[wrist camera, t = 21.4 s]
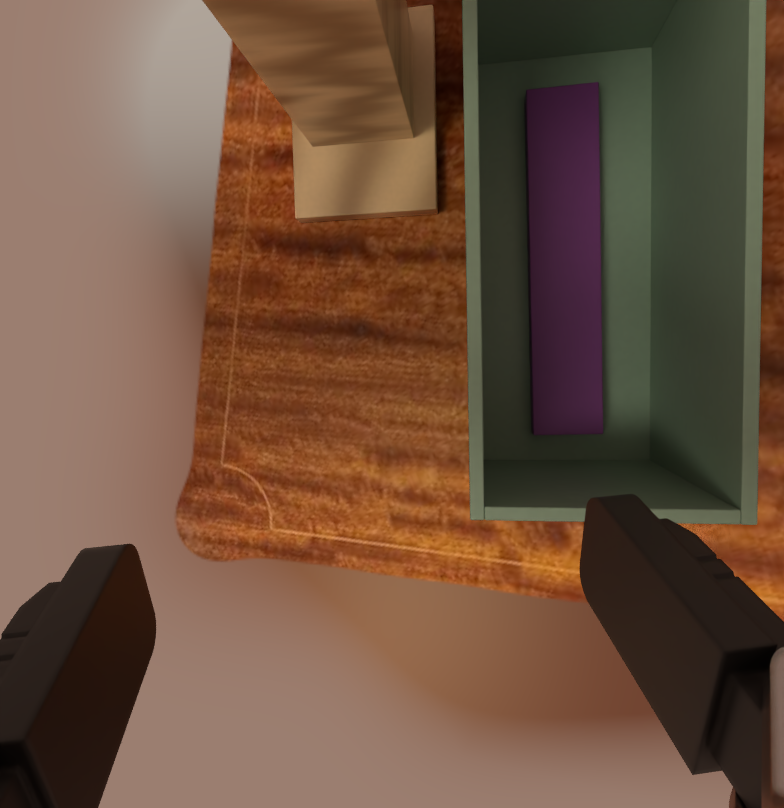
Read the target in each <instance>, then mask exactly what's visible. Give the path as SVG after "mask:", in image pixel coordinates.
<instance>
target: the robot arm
mask: <svg viewBox="0 0 784 808" xmlns="http://www.w3.org/2000/svg"><path fill="white" fill-rule="evenodd" d="M580 578H581V584H582V588H583V591H584V594H585V596H586V599H587V601H588V603H589V604H590V606H591V608H592V609H593V611H594V613H595V614H596V616H597V617H598V619H599V621H600V623H601V624H602V626H603V627H604V629H605V631H606V632H607V634H608V636H609V637H610V639H611V640H612V642H613V644H614V645H615V647H616V649H617V651H618V652H619V654H620V655H621V657H622V659H623V660H624V662H625V664H626V666H627V667H628V669H629V670H630V672H631V674H632V675H633V677H634V679H635V680H636V682H637V684H638V685H639V687H640V689H641V690H642V692H643V694H644V695H645V697H646V699H647V700H648V702H649V703H650V705H651V707H652V709H653V710H654V712H655V713H656V715H657V717H658V718H659V720H660V722H661V723H662V725H663V727H664V728H665V730H666V732H667V733H668V735H669V737H670V738H671V740H672V742H673V743H674V745H675V747H676V748H677V750H678V752H679V753H680V755H681V756H682V758H683V760H684V762H685V763H686V765H687V766H688V768H689V770H690V771H691V773H692V775H694V774H701V773H708V772H715V771H723V772H724V774H725V775H726V777H727V778H728V780H729V781H730V783H731V784H732V786H733V789H732V792H731V796H730V801H729V808H784V622H783V621H782V620H781V619H780V618H779V617H778V616H777V615H776V614H775V613H774V612H773V611H772V610H771V609H770V608H769V607H768V606H767V605H766V604H765V603H764V602H763V601H762V600H761V599H760V598H759V597H758V596H757V595H756V594H755V593H754V592H753V591H752V590H751V589H750V588H749V587H748V586H747V585H746V584H745V583H744V582H743V581H742V580H741V579H740V578H739V577H735V576H734V572H733V571H732V570H731V569H730V568H729V567H728V566H727V565H726V564H725V563H724V562H723V561H722V560H721V559H717V558H716V554H715V553H714V552H713V551H712V550H711V549H710V548H709V547H708V546H707V545H706V544H705V543H704V542H703V541H702V540H701V539H700V538H699V537H698V536H697V535H696V534H694V533H692V532H691V531H689V530H687V529H685V528H684V527H682V526H680V525H678V524H677V523H675V522H673V521H671V520H669V519H668V518H664V519H659V518H658V517H657V516H656V515H655V514H654V513H653V512H652V511H651V510H650V509H649V508H648V507H647V506H646V505H645V504H644V503H643V501H642V500H641V499H640V498H639V497H638V496H636V495H635V494H623V495H613V496H603V497H594V498H591V499H590V500H589V501H588V503H587V506H586V512H585V521H584V531H583V540H582V549H581V558H580ZM155 638H156V618H155V612H154V609H153V605H152V601H151V598H150V594H149V590H148V587H147V583H146V579H145V576H144V572H143V568H142V565H141V561H140V558H139V555H138V551H137V549H136V548H135V546H134V545H132V544H124V545H114V546H104V547H94V548H85V549H83V550H82V551H80V553H79V554H78V556H77V557H76V559H75V560H74V562H73V563H72V565H71V567H70V568H69V570H68V571H67V573H66V574H65V576H64V578H63V579H62V581H61V582H53V583H48V584H47V585H46V586H45V587H44V588H42V589H41V590H40V591H39V592H38V593H36V594H35V595H34V596H33V597H32V598H31V599H29V600H28V601H27V602H26V603H24V604H23V605H22V606H21V607H20V608H19V610H18V611H17V612H16V614H15V615H14V617H13V618H12V620H11V621H10V623H9V624H8V625H7V627H6V629H5V630H4V631H3V633H2V638H1V640H0V808H98V806H99V804H100V801H101V798H102V795H103V792H104V789H105V786H106V784H107V781H108V777H109V775H110V772H111V769H112V766H113V764H114V761H115V758H116V755H117V752H118V749H119V746H120V744H121V741H122V738H123V735H124V732H125V730H126V726H127V724H128V721H129V718H130V715H131V712H132V710H133V706H134V704H135V701H136V698H137V695H138V693H139V690H140V687H141V684H142V681H143V678H144V675H145V673H146V670H147V667H148V664H149V661H150V658H151V656H152V653H153V649H154V645H155Z"/></svg>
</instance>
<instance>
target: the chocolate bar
mask: <svg viewBox="0 0 784 808" xmlns="http://www.w3.org/2000/svg"><path fill="white" fill-rule="evenodd" d="M524 109H525V156H526V204H527V252H528V299H529V347H530V395H531V432H532V434H533V435H581V434H603V372H602V295H601V218H600V141H599V82H593V83H584V84H574V85H565V86H556V87H547V88H537V89H528V90H526V95H525V100H524Z"/></svg>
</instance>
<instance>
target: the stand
mask: <svg viewBox="0 0 784 808" xmlns="http://www.w3.org/2000/svg"><path fill="white" fill-rule="evenodd" d="M203 2H204V3H205V4H206V6H207V7H208V8H209V10H210V11H211V12H212V14H213V15H214V16H215V18H216V19H217V20H218V22H219V23H220V24H221V26H222V27H223V28H224V30H225V31H226V32H227V34H228V35H229V36H230V38H231V39H232V40H233V42H234V43H235V44H236V46H237V47H238V48H239V50H240V51H241V52H242V54H243V55H244V56H245V58H246V59H247V60H248V62H249V63H250V64H251V66H252V67H253V68H254V70H255V71H256V72H257V74H258V75H259V76H260V78H261V79H262V80H263V82H264V83H265V84H266V86H267V87H268V88H269V90H270V91H271V92H272V94H273V95H274V96H275V98H276V99H277V100H278V101H279V103H280V104H281V105H282V107H283V108H284V109H285V111H286V112H287V113H288V115H289V116H290V117H291V119H292V138H293V167H294V196H295V218H296V219H297V220H298V221H299V222H301V223H307V222H322V221H337V220H353V219H368V218H383V217H399V216H414V215H429V214H438V177H437V124H436V70H435V17H434V9H433V5H425V6H417V7H409V8H408V7H407V2H406V0H203Z"/></svg>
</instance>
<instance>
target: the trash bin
mask: <svg viewBox="0 0 784 808" xmlns="http://www.w3.org/2000/svg"><path fill="white" fill-rule="evenodd" d="M462 30H463V94H464V158H465V222H466V286H467V349H468V413H469V477H470V519H471V520H484V518H485V520H509V521H570V522H584V521H585V512H586V506H587V503H588V501H589V500H590V499H591V498H594V497H603V496H613V495H623V494H635V495H636V496H638V497H639V498H640V499H641V500H642V501H643V503H644V504H645V505H646V506H647V507H648V508H649V509H650V510H651V511H652V512H653V513H654V514H655V515H656V516H657V517H658V518H659V519H664V518H668V519H669V520H671V521H673V522H675V523H692V524H743V525H756V524H757V503H758V445H759V388H760V331H761V274H762V216H763V159H764V102H765V44H766V0H462ZM593 82H599V141H600V218H601V295H602V372H603V434H581V435H533V434H532V432H531V395H530V347H529V299H528V252H527V204H526V156H525V109H524V100H525V95H526V90H528V89H537V88H547V87H556V86H565V85H574V84H584V83H593Z"/></svg>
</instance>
